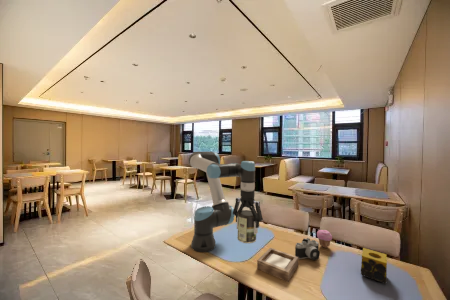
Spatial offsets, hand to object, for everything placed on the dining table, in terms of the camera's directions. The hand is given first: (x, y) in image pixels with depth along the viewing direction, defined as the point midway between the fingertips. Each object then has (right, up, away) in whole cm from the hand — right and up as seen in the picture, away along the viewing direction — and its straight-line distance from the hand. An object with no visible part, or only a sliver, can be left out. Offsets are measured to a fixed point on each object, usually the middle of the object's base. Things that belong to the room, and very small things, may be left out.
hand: (246, 230), depth 105 cm
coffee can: (0, -5, 0) cm, 5 cm away
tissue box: (+62, -19, -8) cm, 66 cm away
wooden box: (+16, -18, -3) cm, 24 cm away
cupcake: (+52, -18, +20) cm, 59 cm away
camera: (+36, -18, +6) cm, 41 cm away
